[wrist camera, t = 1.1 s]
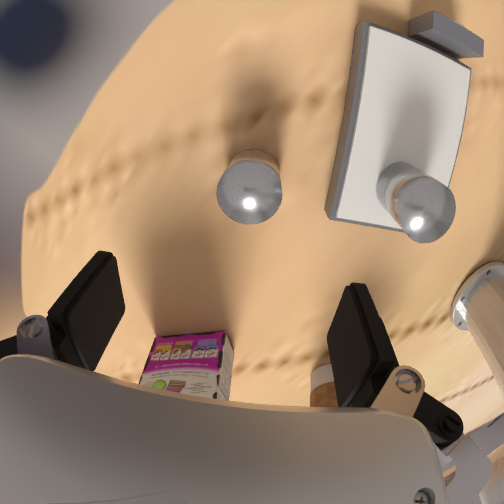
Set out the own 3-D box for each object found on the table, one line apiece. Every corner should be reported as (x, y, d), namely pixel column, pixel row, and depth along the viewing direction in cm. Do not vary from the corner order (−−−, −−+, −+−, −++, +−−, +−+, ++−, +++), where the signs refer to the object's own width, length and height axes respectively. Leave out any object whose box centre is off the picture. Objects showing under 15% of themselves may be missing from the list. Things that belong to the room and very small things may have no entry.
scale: (459, 41, 17) (487, 38, 13) (421, 227, 28) (442, 249, 24) (357, -2, 17) (374, -19, 12) (324, 209, 28) (334, 231, 24)
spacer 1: (283, 153, 26) (286, 167, 20) (275, 202, 28) (276, 228, 23) (229, 146, 26) (219, 159, 20) (225, 195, 28) (214, 220, 23)
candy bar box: (168, 357, 41) (140, 449, 27) (154, 335, 39) (118, 432, 25) (236, 352, 40) (224, 457, 26) (226, 329, 37) (208, 442, 23)
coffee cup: (333, 350, 39) (348, 443, 26) (364, 370, 41) (381, 451, 28) (291, 376, 42) (294, 462, 29) (324, 392, 45) (332, 469, 32)
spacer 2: (428, 169, 22) (462, 190, 17) (413, 217, 25) (442, 247, 19) (383, 156, 22) (413, 174, 17) (370, 207, 25) (394, 238, 19)
